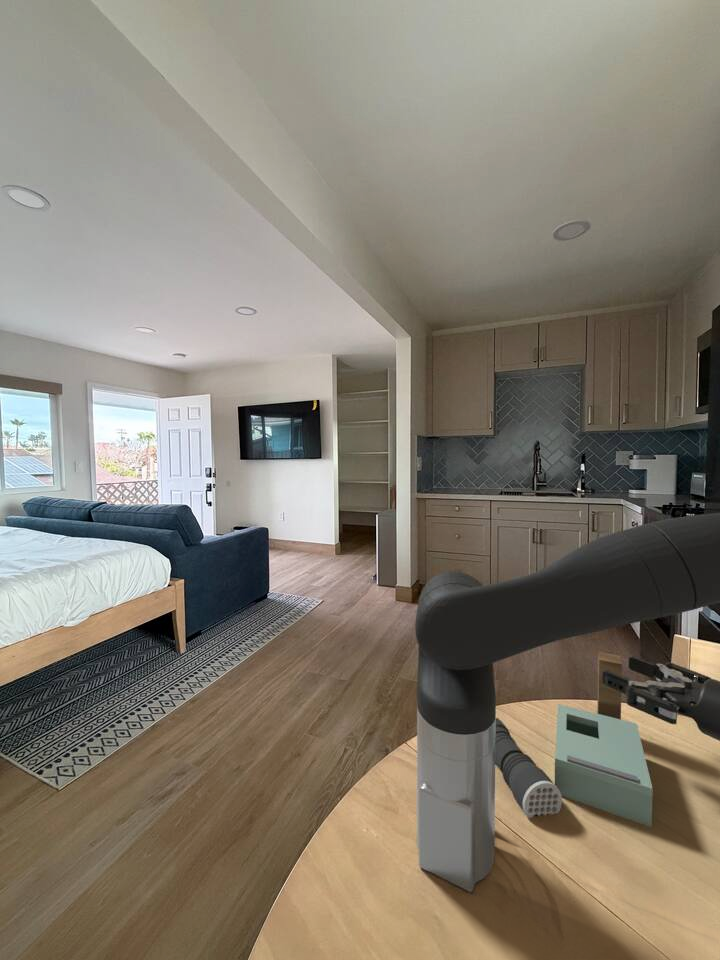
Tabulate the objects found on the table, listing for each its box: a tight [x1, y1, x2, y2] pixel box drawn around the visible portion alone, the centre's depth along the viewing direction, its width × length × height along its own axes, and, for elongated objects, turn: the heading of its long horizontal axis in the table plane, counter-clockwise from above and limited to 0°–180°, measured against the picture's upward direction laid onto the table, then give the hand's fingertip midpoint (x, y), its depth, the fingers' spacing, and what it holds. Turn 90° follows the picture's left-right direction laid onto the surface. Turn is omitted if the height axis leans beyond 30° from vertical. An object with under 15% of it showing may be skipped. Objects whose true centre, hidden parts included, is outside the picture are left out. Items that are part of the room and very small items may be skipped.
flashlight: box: [495, 717, 563, 819], centre depth 59 cm, size 15×5×5 cm, turn 10°
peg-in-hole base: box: [554, 703, 654, 828], centre depth 59 cm, size 14×11×6 cm
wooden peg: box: [596, 651, 623, 720], centre depth 67 cm, size 3×3×14 cm
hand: (617, 669), depth 66 cm, fingers open, 8 cm apart
